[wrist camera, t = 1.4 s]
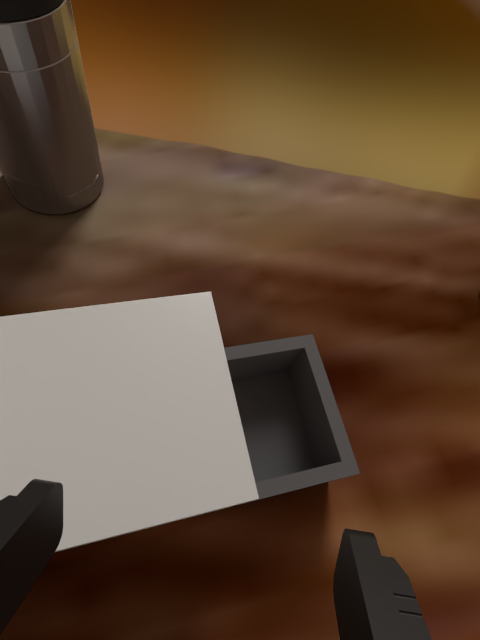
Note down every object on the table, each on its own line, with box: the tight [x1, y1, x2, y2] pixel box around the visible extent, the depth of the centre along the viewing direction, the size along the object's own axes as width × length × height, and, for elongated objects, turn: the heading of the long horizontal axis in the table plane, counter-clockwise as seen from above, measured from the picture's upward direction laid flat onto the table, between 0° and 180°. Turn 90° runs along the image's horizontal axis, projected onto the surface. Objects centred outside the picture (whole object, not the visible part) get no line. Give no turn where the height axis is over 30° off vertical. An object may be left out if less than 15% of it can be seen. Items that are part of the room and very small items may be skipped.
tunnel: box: [0, 292, 259, 552], centre depth 24 cm, size 10×11×14 cm
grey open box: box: [224, 334, 360, 508], centre depth 30 cm, size 10×9×6 cm
